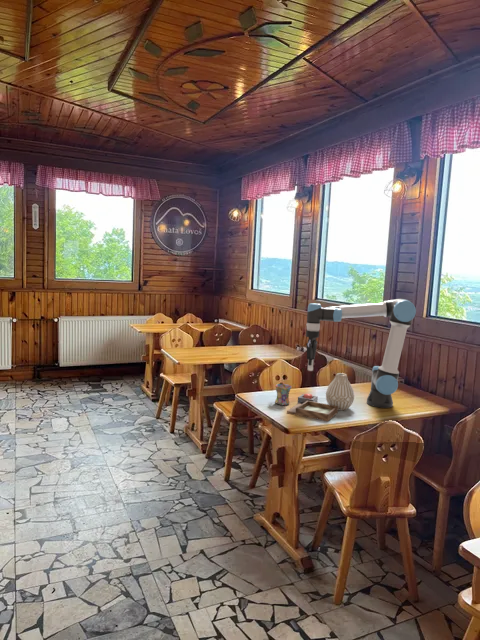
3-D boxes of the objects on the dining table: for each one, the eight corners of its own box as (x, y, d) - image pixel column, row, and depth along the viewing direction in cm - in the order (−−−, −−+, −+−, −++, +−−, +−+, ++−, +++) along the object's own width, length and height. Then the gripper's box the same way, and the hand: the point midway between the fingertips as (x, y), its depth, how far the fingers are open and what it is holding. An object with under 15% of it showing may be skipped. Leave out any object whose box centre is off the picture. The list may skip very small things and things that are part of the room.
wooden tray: (337, 412, 259) (338, 406, 259) (327, 421, 243) (328, 414, 243) (298, 405, 270) (299, 398, 269) (286, 412, 254) (287, 406, 253)
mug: (293, 405, 269) (294, 387, 268) (279, 406, 265) (281, 388, 263) (281, 399, 279) (283, 382, 278) (268, 400, 275) (269, 383, 274)
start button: (312, 401, 275) (313, 394, 274) (310, 403, 271) (310, 396, 270) (305, 399, 277) (305, 393, 277) (302, 401, 273) (302, 394, 272)
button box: (317, 403, 276) (317, 396, 275) (312, 406, 268) (312, 400, 267) (302, 400, 280) (303, 393, 280) (297, 403, 272) (297, 397, 272)
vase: (323, 403, 276) (325, 370, 274) (350, 405, 276) (352, 371, 274) (327, 411, 261) (329, 376, 258) (355, 413, 260) (358, 378, 258)
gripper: (310, 328, 277) (307, 367, 279) (302, 330, 265) (300, 371, 268) (322, 329, 273) (319, 369, 276) (315, 332, 262) (312, 373, 264)
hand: (310, 370), depth 272 cm, fingers closed
